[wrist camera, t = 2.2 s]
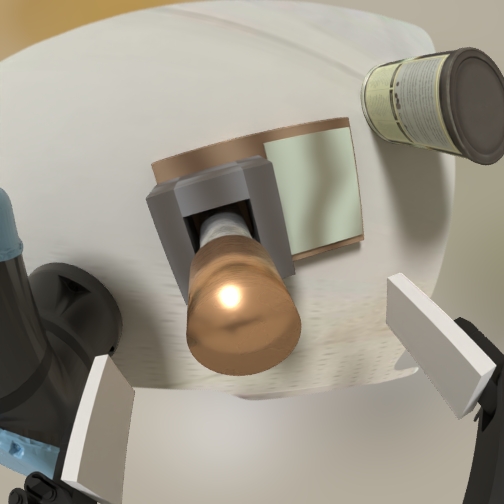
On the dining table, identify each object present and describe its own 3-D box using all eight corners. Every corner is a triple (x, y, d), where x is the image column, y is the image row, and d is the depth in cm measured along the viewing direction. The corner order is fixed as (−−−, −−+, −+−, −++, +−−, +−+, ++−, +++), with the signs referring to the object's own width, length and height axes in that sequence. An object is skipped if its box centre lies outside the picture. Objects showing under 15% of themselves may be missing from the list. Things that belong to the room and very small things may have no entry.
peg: (203, 247, 30) (208, 385, 14) (188, 199, 28) (168, 306, 12) (252, 233, 30) (307, 358, 14) (240, 184, 28) (291, 272, 12)
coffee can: (396, 48, 26) (482, 31, 13) (437, 115, 30) (522, 128, 17) (342, 90, 27) (427, 78, 15) (391, 161, 31) (478, 189, 19)
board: (194, 280, 34) (193, 322, 27) (154, 162, 28) (137, 174, 21) (356, 233, 35) (391, 262, 27) (340, 117, 29) (379, 117, 21)
